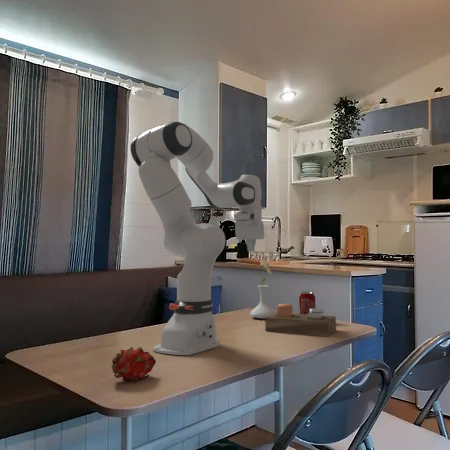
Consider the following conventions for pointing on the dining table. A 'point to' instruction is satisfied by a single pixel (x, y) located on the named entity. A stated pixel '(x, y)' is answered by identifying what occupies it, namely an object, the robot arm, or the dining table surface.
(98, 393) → the dining table surface
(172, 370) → the dining table surface
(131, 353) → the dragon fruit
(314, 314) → the metal plunger
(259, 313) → the flower in vase
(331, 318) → the walnut block
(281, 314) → the terracotta plunger
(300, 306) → the soda can
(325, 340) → the dining table surface
